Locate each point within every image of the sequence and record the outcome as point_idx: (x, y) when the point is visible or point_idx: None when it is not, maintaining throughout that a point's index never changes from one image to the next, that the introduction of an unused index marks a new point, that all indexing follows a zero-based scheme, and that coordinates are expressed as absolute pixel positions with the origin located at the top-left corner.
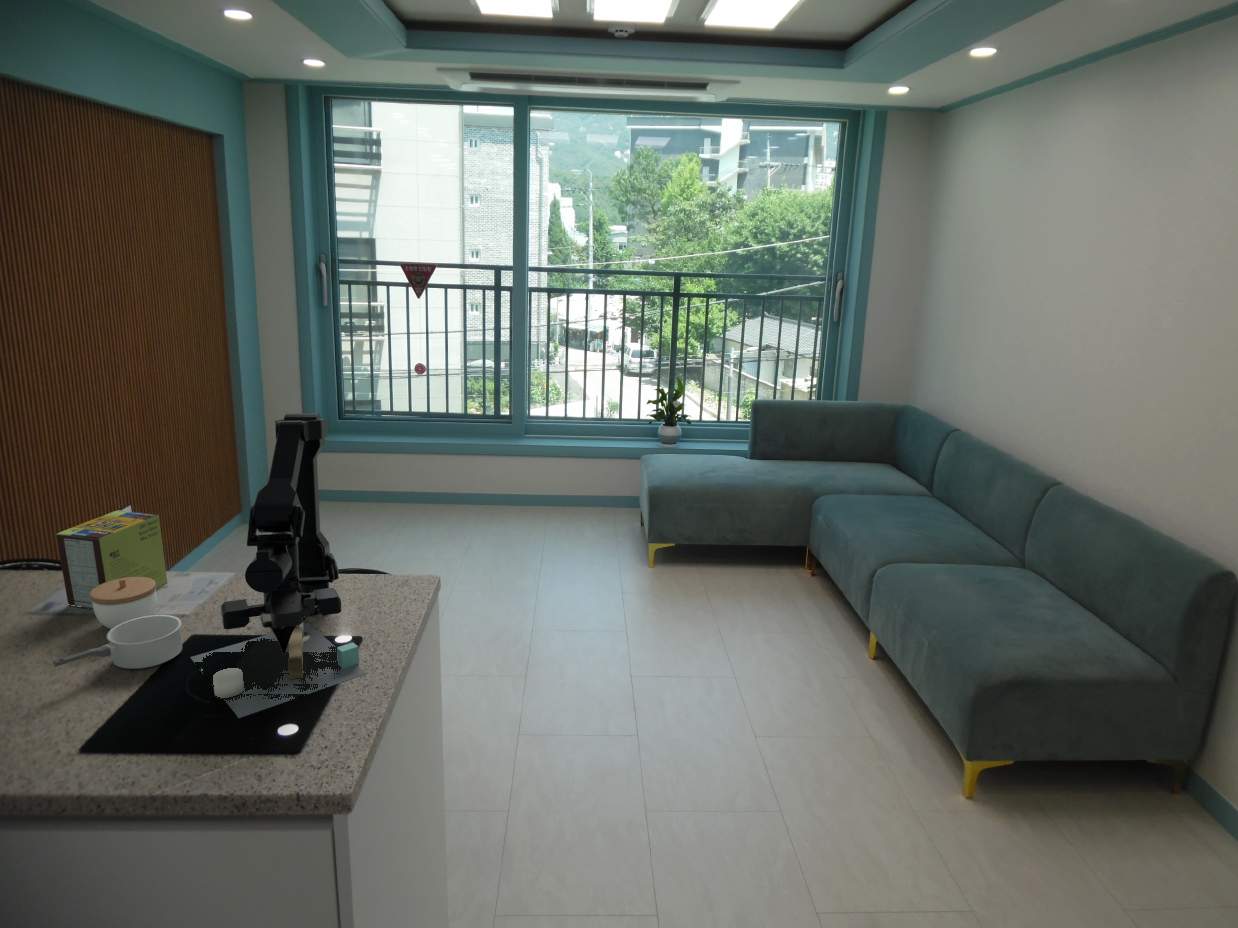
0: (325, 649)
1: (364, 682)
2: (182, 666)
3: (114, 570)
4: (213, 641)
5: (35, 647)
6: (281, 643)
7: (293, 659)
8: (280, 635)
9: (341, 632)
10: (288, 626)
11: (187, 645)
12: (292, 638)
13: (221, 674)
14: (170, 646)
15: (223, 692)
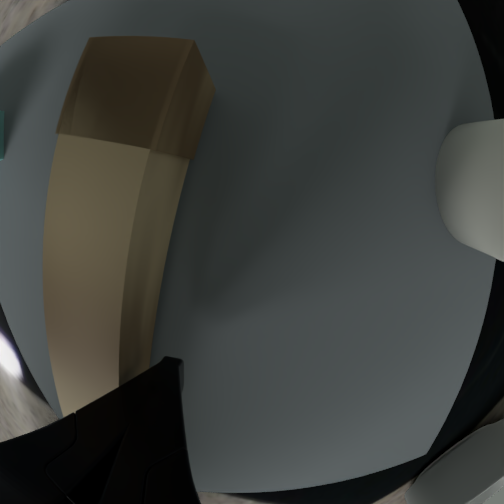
0: (29, 321)
1: (15, 12)
2: (457, 422)
3: None
4: (344, 496)
5: None
6: (163, 405)
7: (125, 90)
8: (142, 467)
9: (16, 389)
10: (1, 495)
11: (391, 488)
12: None
13: None
14: (472, 468)
15: None
